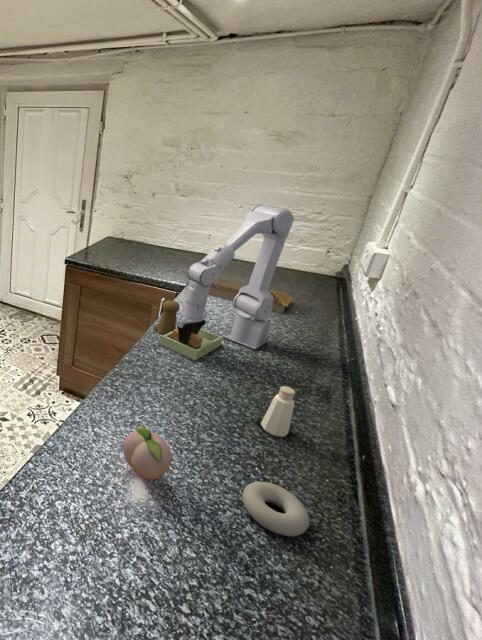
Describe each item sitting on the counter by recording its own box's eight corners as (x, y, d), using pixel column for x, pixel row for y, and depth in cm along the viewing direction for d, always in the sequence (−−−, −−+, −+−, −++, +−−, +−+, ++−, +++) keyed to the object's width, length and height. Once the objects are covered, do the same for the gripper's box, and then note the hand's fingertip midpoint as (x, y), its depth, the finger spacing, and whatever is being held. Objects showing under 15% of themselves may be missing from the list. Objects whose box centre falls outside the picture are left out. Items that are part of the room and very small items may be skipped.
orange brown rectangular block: (200, 349, 123) (203, 337, 121) (194, 353, 121) (197, 340, 119) (176, 339, 129) (179, 327, 127) (170, 342, 127) (172, 330, 125)
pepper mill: (177, 336, 132) (183, 306, 128) (158, 334, 133) (164, 304, 129) (173, 328, 138) (179, 299, 134) (155, 326, 139) (160, 297, 135)
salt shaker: (288, 440, 88) (304, 400, 84) (260, 431, 91) (273, 391, 86) (287, 426, 92) (302, 387, 88) (260, 417, 95) (273, 379, 91)
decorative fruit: (176, 487, 76) (187, 446, 72) (139, 497, 73) (148, 455, 70) (146, 451, 84) (154, 413, 80) (112, 459, 82) (119, 420, 78)
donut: (277, 489, 76) (228, 491, 75) (282, 476, 75) (233, 478, 74) (320, 539, 67) (265, 542, 66) (327, 525, 65) (271, 528, 64)
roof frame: (290, 303, 160) (295, 289, 158) (285, 314, 150) (290, 300, 148) (199, 281, 182) (202, 269, 179) (189, 290, 172) (192, 276, 169)
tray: (220, 345, 127) (222, 337, 126) (195, 360, 118) (197, 351, 117) (186, 331, 136) (188, 323, 134) (160, 344, 127) (162, 335, 126)
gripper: (195, 292, 126) (186, 330, 131) (169, 303, 118) (161, 342, 123) (217, 300, 121) (207, 339, 126) (192, 311, 113) (183, 352, 118)
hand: (186, 341), depth 124 cm, fingers closed on orange brown rectangular block, 3 cm apart
